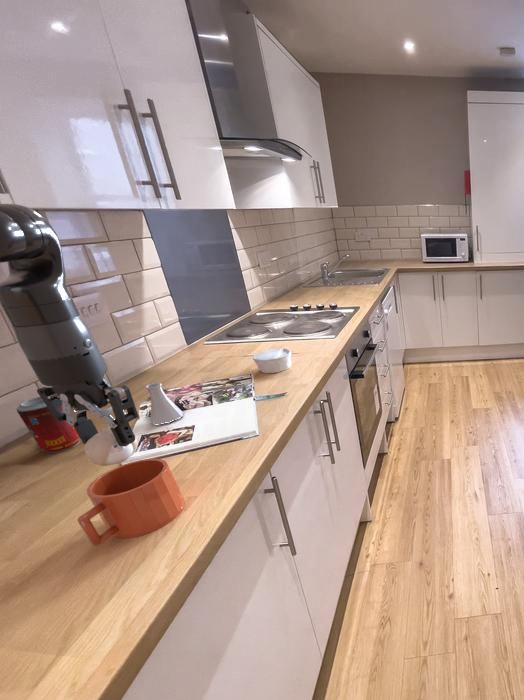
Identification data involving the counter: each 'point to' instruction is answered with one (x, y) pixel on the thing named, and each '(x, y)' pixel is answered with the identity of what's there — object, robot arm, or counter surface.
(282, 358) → the ramekin
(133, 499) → the mug
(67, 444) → the soda can
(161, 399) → the flask
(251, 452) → the counter surface
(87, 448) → the garlic bulb
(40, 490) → the counter surface
